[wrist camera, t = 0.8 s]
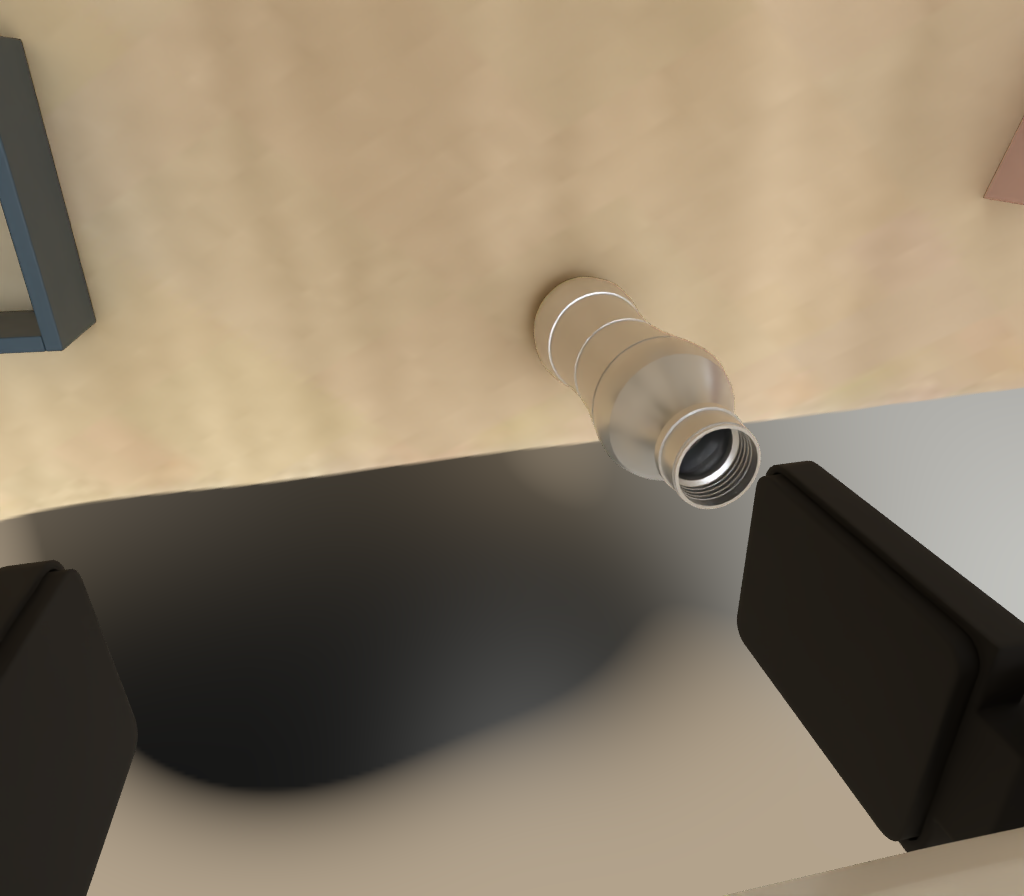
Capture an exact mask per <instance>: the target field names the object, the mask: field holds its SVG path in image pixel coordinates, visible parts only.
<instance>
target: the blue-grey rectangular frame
mask: <svg viewBox="0 0 1024 896" xmlns="http://www.w3.org/2000/svg"><path fill="white" fill-rule="evenodd" d="M0 202H1V205H2V208H3V212H4V215H5V218H6V221H7V225H8V228H9V231H10V235H11V238H12V241H13V244H14V248H15V251H16V254H17V257H18V261H19V264H20V267H21V271H22V274H23V277H24V280H25V284H26V287H27V290H28V293H29V297H30V300H31V303H32V306H33V310H34V311H11V312H0V354H3V353H24V352H44V351H62V350H64V349H65V348H66V347H67V346H69V345H70V344H71V343H72V342H73V341H74V340H76V339H77V338H78V337H79V336H80V335H81V334H83V333H84V332H85V331H86V330H87V329H88V328H89V327H91V326H92V325H93V324H94V323H95V322H96V320H95V316H94V312H93V308H92V305H91V301H90V297H89V293H88V290H87V286H86V282H85V278H84V275H83V271H82V267H81V263H80V260H79V256H78V252H77V248H76V245H75V241H74V237H73V233H72V230H71V226H70V222H69V218H68V215H67V211H66V207H65V203H64V200H63V196H62V192H61V188H60V185H59V181H58V177H57V173H56V170H55V166H54V162H53V158H52V155H51V151H50V147H49V143H48V140H47V136H46V132H45V128H44V125H43V121H42V117H41V113H40V110H39V106H38V102H37V98H36V94H35V91H34V87H33V83H32V79H31V76H30V72H29V68H28V64H27V61H26V57H25V53H24V49H23V46H22V42H21V40H20V39H15V38H9V37H3V36H0Z"/></svg>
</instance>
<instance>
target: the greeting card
mask: <svg viewBox="0 0 1024 896" xmlns="http://www.w3.org/2000/svg"><path fill="white" fill-rule="evenodd" d="M984 198H986V199H992V200H998V201H1004V202H1010V203H1016V204H1022V205H1024V117H1023V119H1022V121H1021V123H1020V125H1019V127H1018V129H1017V131H1016V133H1015V135H1014V137H1013V139H1012V141H1011V143H1010V145H1009V147H1008V149H1007V151H1006V153H1005V155H1004V157H1003V159H1002V161H1001V163H1000V165H999V167H998V169H997V171H996V173H995V175H994V177H993V179H992V181H991V183H990V185H989V187H988V190H987V192H986V194H985V196H984Z"/></svg>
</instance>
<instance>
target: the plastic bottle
mask: <svg viewBox="0 0 1024 896" xmlns="http://www.w3.org/2000/svg"><path fill="white" fill-rule="evenodd" d="M534 339H535V345H536V350H537V353H538V356H539V358H540V361H541V362H542V364H543V366H544V367H545V369H546V370H547V371H548V372H549V373H550V374H551V375H552V376H553V377H555V378H556V379H557V380H559V381H560V382H562V383H563V384H565V385H566V386H568V387H570V388H572V389H573V390H574V391H575V392H576V393H577V394H578V395H579V396H580V398H581V399H582V401H583V403H584V404H585V406H586V408H587V409H588V411H589V414H590V417H591V419H592V422H593V425H594V427H595V430H596V433H597V436H598V438H599V440H600V442H601V444H602V446H603V447H604V449H605V450H606V452H607V454H608V455H609V457H610V458H611V459H612V460H613V461H614V462H615V463H616V464H617V465H619V466H620V467H622V468H624V469H625V470H627V471H629V472H631V473H633V474H635V475H638V476H641V477H644V478H647V479H653V480H664V481H665V482H666V483H667V484H668V485H669V486H670V487H671V488H673V489H674V490H675V491H676V492H677V493H678V495H679V496H680V497H681V498H682V499H683V500H684V501H686V502H687V503H689V504H690V505H692V506H694V507H697V508H701V509H714V508H718V507H722V506H725V505H727V504H729V503H732V502H733V501H735V500H736V499H738V498H739V497H740V496H741V495H742V494H744V493H745V492H746V491H747V489H748V488H749V487H750V486H751V485H752V483H753V481H754V479H755V478H756V476H757V473H758V471H759V467H760V462H761V452H760V447H759V445H758V442H757V440H756V438H755V437H754V435H753V434H752V433H751V432H750V431H749V430H748V429H747V428H746V427H745V426H744V425H743V424H742V421H741V420H740V419H739V418H738V417H737V416H736V415H735V414H734V412H735V398H734V393H733V389H732V385H731V383H730V381H729V379H728V377H727V375H726V372H725V370H724V368H723V366H722V365H721V363H720V362H719V361H718V360H717V359H716V357H715V356H714V355H712V354H711V353H710V352H708V351H707V350H706V349H704V348H702V347H700V346H698V345H697V344H695V343H692V342H690V341H688V340H685V339H682V338H680V337H677V336H674V335H671V334H668V333H666V332H663V331H661V330H660V329H658V328H656V327H655V326H652V325H651V324H650V323H648V322H647V321H646V320H645V319H644V318H643V317H642V316H641V315H640V313H639V311H638V309H637V308H636V306H635V304H634V303H633V301H632V300H631V299H630V297H629V296H628V295H627V294H626V293H625V292H624V290H622V289H621V288H620V287H618V286H617V285H616V284H614V283H612V282H610V281H607V280H604V279H599V278H593V277H577V278H573V279H569V280H567V281H565V282H563V283H561V284H559V285H558V286H557V287H555V288H554V289H552V291H551V292H550V293H549V294H548V295H547V296H546V297H545V298H544V300H543V301H542V303H541V304H540V307H539V309H538V311H537V314H536V317H535V322H534Z"/></svg>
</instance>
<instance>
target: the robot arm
mask: <svg viewBox="0 0 1024 896" xmlns="http://www.w3.org/2000/svg"><path fill="white" fill-rule="evenodd" d="M737 626H738V630H739V634H740V637H741V639H742V641H743V642H744V644H745V645H746V647H747V648H748V650H749V651H750V652H751V654H752V655H753V656H754V658H755V659H756V660H757V662H758V663H759V665H760V666H761V667H762V669H763V670H764V671H765V673H766V674H767V676H768V677H769V678H770V679H771V681H772V683H773V684H774V685H775V687H776V688H777V689H778V691H779V692H780V693H781V695H782V696H783V698H784V699H785V700H786V702H787V703H788V704H789V706H790V707H791V709H792V710H793V711H794V713H795V714H796V715H797V717H798V718H799V720H800V721H801V722H802V724H803V725H804V726H805V728H806V729H807V731H808V732H809V733H810V735H811V736H812V738H813V739H814V740H815V742H816V743H817V744H818V746H819V747H820V749H821V750H822V751H823V753H824V754H825V755H826V757H827V758H828V760H829V761H830V762H831V764H832V765H833V766H834V768H835V769H836V770H837V772H838V773H839V775H840V776H841V777H842V779H843V780H844V781H845V783H846V784H847V786H848V787H849V788H850V790H851V791H852V793H853V794H854V795H855V797H856V798H857V799H858V801H859V802H860V804H861V805H862V806H863V808H864V809H865V810H866V812H867V813H868V814H869V816H870V817H871V819H872V820H873V821H874V823H875V824H876V826H877V827H878V828H879V829H880V831H881V832H882V833H883V834H884V835H885V836H886V837H887V838H889V839H890V840H893V841H899V842H900V843H901V845H902V846H903V848H904V849H905V851H907V853H903V854H899V855H894V856H890V857H886V858H882V859H877V860H874V861H869V862H865V863H860V864H856V865H852V866H848V867H844V868H839V869H835V870H831V871H826V872H822V873H818V874H814V875H809V876H805V877H801V878H797V879H793V880H788V881H784V882H780V883H775V884H772V885H767V886H763V887H758V888H754V889H750V890H746V891H742V892H737V893H733V894H729V895H725V896H1024V623H1023V622H1022V621H1020V620H1019V619H1018V618H1017V617H1015V616H1014V615H1013V614H1011V613H1010V612H1009V611H1007V610H1006V609H1005V608H1004V607H1002V606H1001V605H1000V604H998V603H997V602H996V601H995V600H993V599H992V598H991V597H989V596H988V595H986V594H985V593H984V592H983V591H982V590H980V589H979V588H978V587H976V586H975V585H974V584H972V583H971V582H970V581H968V580H967V579H966V578H965V577H963V576H962V575H961V574H959V573H958V572H957V571H956V570H954V569H953V568H952V567H950V566H949V565H948V564H946V563H945V562H944V561H943V560H941V559H940V558H939V557H937V556H936V555H935V554H933V553H932V552H931V551H930V550H928V549H927V548H926V547H924V546H923V545H922V544H920V543H919V542H918V541H917V540H915V539H914V538H913V537H911V536H910V535H909V534H907V533H906V532H905V531H904V530H902V529H901V528H900V527H898V526H897V525H896V524H894V523H893V522H892V521H891V520H889V519H888V518H887V517H885V516H884V515H883V514H881V513H880V512H879V511H878V510H876V509H875V508H874V507H872V506H871V505H870V504H869V503H867V502H866V501H865V500H863V499H862V498H861V497H859V496H858V495H857V494H855V493H854V492H853V491H852V490H850V489H849V488H848V487H846V486H845V485H844V484H843V483H841V482H840V481H839V480H837V479H836V478H835V477H833V476H832V475H831V474H829V473H828V472H827V471H826V470H824V469H823V468H822V467H820V466H819V465H818V464H816V463H814V462H812V461H802V462H795V463H787V464H780V465H773V466H772V467H770V468H769V470H768V471H767V473H766V476H763V477H761V478H760V479H759V480H758V482H757V486H756V492H755V499H754V505H753V513H752V519H751V526H750V533H749V540H748V547H747V553H746V560H745V567H744V573H743V580H742V587H741V594H740V601H739V608H738V614H737ZM136 746H137V724H136V720H135V717H134V715H133V712H132V709H131V706H130V704H129V702H128V699H127V696H126V693H125V691H124V688H123V685H122V683H121V680H120V678H119V675H118V673H117V670H116V667H115V664H114V662H113V659H112V657H111V654H110V651H109V649H108V646H107V643H106V641H105V638H104V636H103V633H102V631H101V628H100V625H99V622H98V620H97V617H96V615H95V612H94V609H93V607H92V604H91V601H90V599H89V596H88V594H87V591H86V588H85V586H84V583H83V580H82V578H81V576H80V574H79V573H78V572H77V571H76V570H73V569H69V570H65V569H64V567H63V566H62V565H61V564H60V563H59V562H58V561H55V560H50V561H42V562H36V563H27V564H20V565H12V566H6V567H2V568H0V896H86V895H87V892H88V889H89V886H90V883H91V880H92V877H93V874H94V871H95V868H96V865H97V862H98V859H99V856H100V854H101V850H102V848H103V845H104V842H105V839H106V836H107V833H108V830H109V827H110V824H111V821H112V818H113V815H114V812H115V809H116V806H117V803H118V800H119V798H120V795H121V792H122V789H123V786H124V783H125V780H126V777H127V774H128V771H129V768H130V765H131V762H132V759H133V756H134V753H135V750H136Z"/></svg>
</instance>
